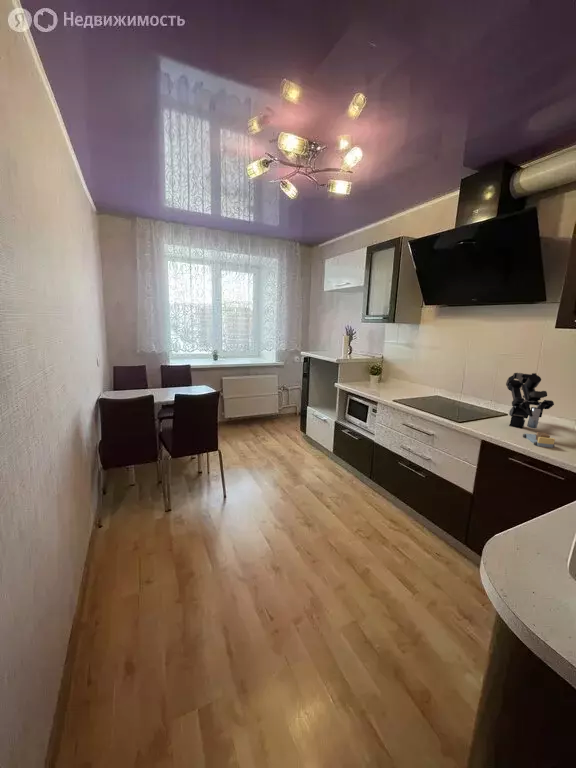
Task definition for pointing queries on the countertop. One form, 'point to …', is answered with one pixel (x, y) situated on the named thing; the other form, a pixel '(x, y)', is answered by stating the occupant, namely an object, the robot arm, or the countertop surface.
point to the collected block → (542, 435)
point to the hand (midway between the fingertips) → (535, 416)
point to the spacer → (534, 417)
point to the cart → (540, 440)
